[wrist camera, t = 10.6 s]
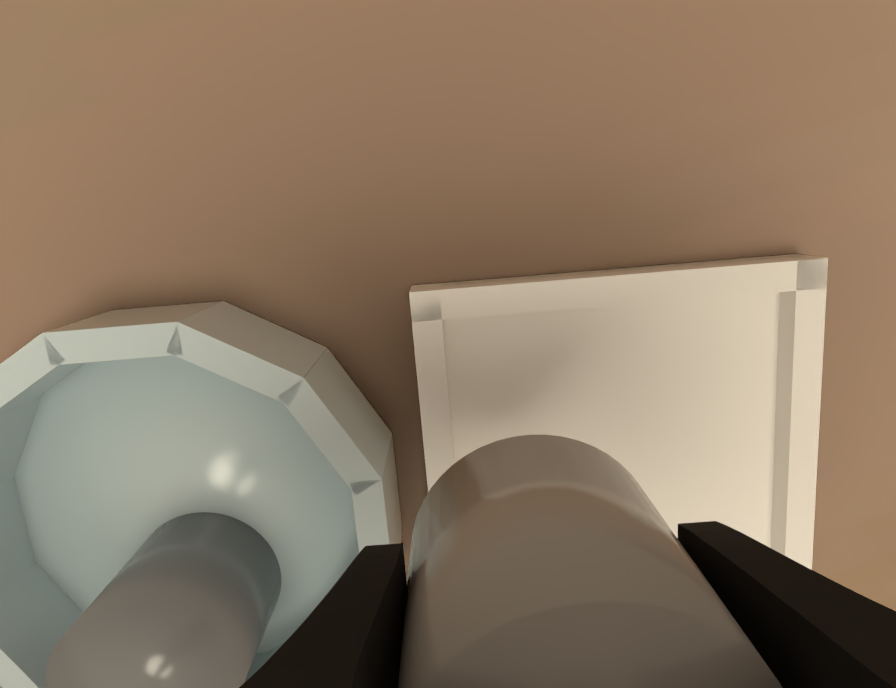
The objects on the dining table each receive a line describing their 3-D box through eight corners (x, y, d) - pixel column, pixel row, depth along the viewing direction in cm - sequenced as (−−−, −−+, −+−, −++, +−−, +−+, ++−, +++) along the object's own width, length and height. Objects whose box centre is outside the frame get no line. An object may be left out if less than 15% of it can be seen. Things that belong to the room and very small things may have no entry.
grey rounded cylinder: (657, 649, 12) (793, 930, 7) (421, 665, 12) (408, 955, 7) (657, 425, 11) (815, 586, 6) (399, 443, 11) (370, 618, 6)
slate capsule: (290, 634, 20) (245, 761, 15) (151, 644, 20) (66, 774, 15) (270, 506, 19) (217, 602, 14) (125, 518, 19) (25, 617, 14)
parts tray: (779, 701, 21) (803, 736, 20) (453, 726, 21) (454, 762, 20) (798, 253, 18) (828, 257, 16) (411, 285, 18) (409, 292, 16)
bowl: (415, 651, 20) (410, 732, 17) (52, 679, 21) (-18, 764, 17) (376, 288, 18) (362, 306, 15) (-40, 322, 18) (-142, 347, 15)
